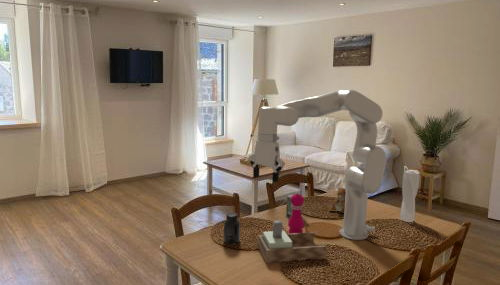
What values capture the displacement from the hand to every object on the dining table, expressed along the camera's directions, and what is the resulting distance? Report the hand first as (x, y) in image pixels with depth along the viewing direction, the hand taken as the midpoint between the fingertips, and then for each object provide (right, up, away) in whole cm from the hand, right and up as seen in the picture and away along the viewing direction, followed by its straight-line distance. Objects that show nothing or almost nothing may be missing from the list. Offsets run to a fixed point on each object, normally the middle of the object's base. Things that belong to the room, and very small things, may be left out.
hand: (265, 179), depth 152 cm
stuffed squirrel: (+43, -22, +50) cm, 70 cm away
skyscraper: (+73, -25, +37) cm, 85 cm away
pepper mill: (+14, -27, +18) cm, 35 cm away
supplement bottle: (-14, -27, +8) cm, 32 cm away
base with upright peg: (+4, -28, -3) cm, 29 cm away
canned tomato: (+16, -23, +39) cm, 48 cm away
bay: (+10, -29, -1) cm, 31 cm away
